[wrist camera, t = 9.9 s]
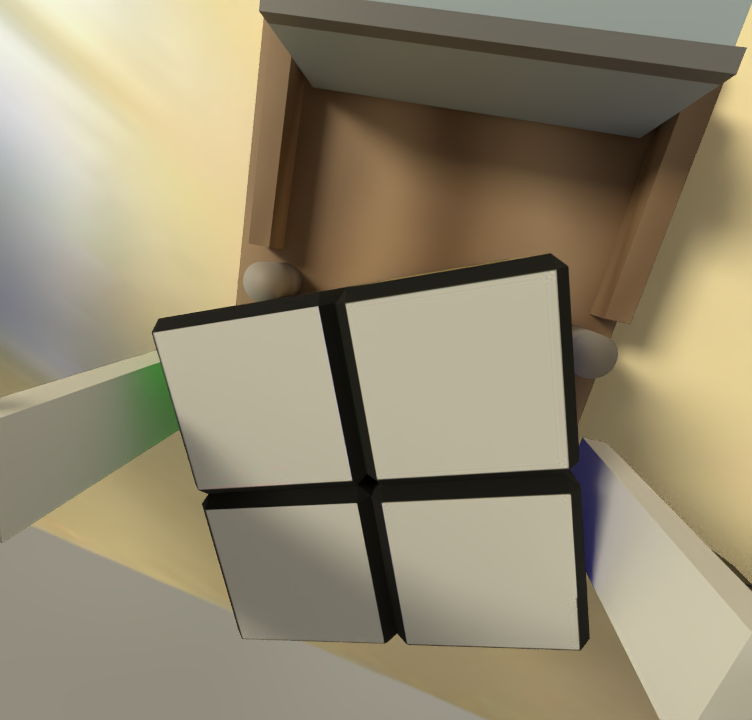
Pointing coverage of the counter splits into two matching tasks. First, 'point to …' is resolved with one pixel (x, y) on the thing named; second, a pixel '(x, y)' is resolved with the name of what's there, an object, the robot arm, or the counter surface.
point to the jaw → (520, 55)
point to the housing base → (454, 198)
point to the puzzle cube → (392, 457)
